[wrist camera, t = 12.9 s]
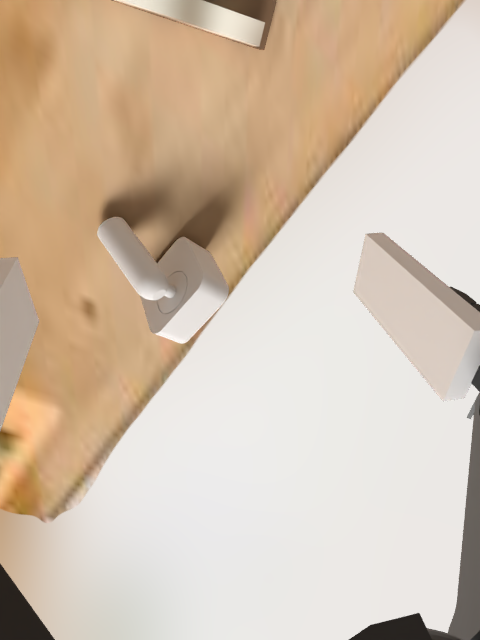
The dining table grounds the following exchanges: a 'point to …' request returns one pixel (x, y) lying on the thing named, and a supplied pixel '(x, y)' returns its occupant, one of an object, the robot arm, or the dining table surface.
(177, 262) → the wall hook
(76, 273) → the dining table surface
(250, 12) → the display stand
